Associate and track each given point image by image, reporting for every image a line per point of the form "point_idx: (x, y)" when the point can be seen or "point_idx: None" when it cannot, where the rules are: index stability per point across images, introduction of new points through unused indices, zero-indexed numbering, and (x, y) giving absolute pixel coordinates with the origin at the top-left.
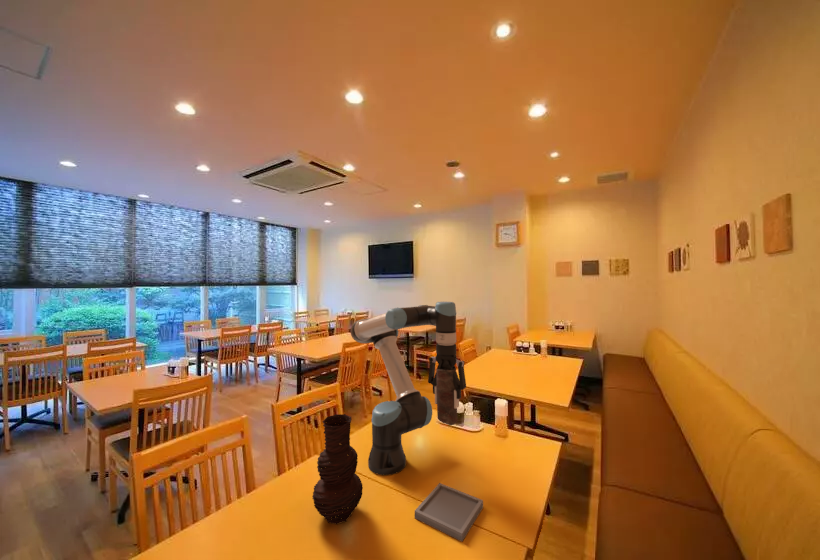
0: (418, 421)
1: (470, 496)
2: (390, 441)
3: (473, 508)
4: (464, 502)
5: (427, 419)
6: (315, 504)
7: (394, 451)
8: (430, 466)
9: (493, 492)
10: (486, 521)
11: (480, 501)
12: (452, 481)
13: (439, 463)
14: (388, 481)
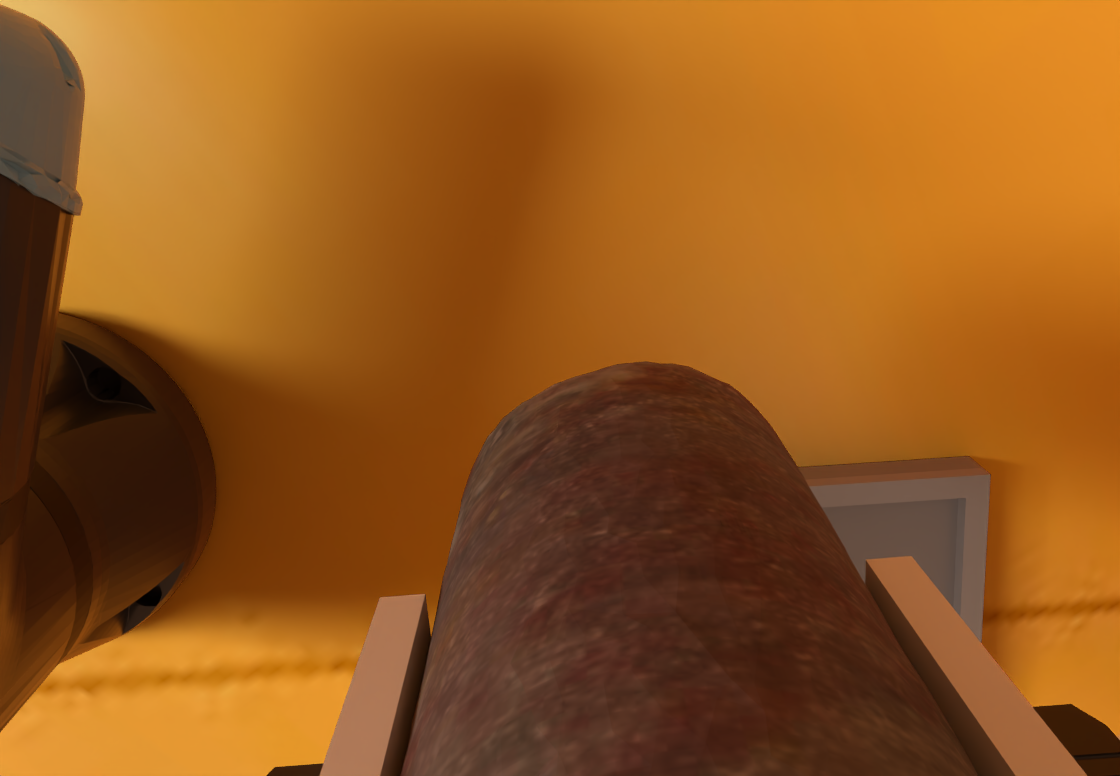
0: (42, 353)
1: (892, 492)
2: (33, 687)
3: (942, 557)
4: (864, 544)
5: (71, 166)
6: None
7: (104, 593)
8: (370, 272)
9: (985, 259)
10: (1028, 554)
11: (977, 496)
12: (645, 337)
13: (408, 179)
14: (236, 632)
